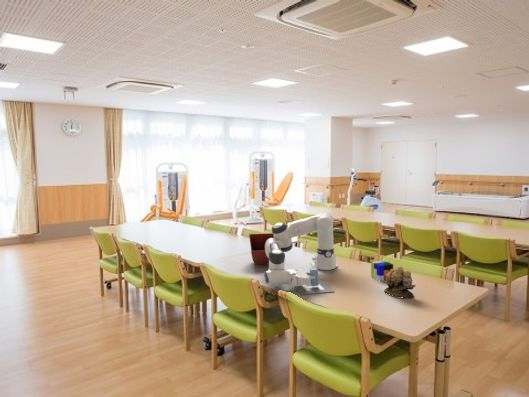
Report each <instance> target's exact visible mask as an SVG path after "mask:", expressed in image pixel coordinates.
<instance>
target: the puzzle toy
mask: <svg viewBox="0 0 529 397" xmlns="http://www.w3.org/2000/svg"><path fill="white" fill-rule="evenodd" d="M391 269H394V264H393V263H391V262H389V261H386V260H375V261H371V263H370V277H371V276H372V277H371V278H373V279H375V280H376V279H377V281H378V280H384V281H386V274H388V273H389V272H390V270H391Z"/></svg>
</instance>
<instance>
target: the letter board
mask: <svg viewBox="0 0 529 397" xmlns="http://www.w3.org/2000/svg"><path fill="white" fill-rule="evenodd" d="M318 283H319V286H312V285H311V281H310V284H306V285H297V286H293V287H294V288H295V289H296V290H297V291H298V293H299V294H300V295H301V296H309V295H318V294H319V295H320V294H331V293H332V294H333V293H335V290H333V288H332V287H330V286H329V285H328V284H327V283H326V282H325V281H324V280H320V281H319V280H318Z"/></svg>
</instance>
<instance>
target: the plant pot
mask: <svg viewBox="0 0 529 397" xmlns="http://www.w3.org/2000/svg"><path fill="white" fill-rule="evenodd" d="M248 236H249V244H250V251H251V252H250V253H251V258H252V262H253V264H254V265H269V258H268V257H267V256H266V253H265V243H266V241H267V240H268V239H269V238H274V235H273V233H272V232H269V233H249V235H248Z"/></svg>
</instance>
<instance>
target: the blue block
mask: <svg viewBox="0 0 529 397" xmlns="http://www.w3.org/2000/svg"><path fill="white" fill-rule="evenodd" d="M318 270H319V269H317V268H313V267H310V268H309V272H310V276H312V275H315V279H311V280H310V282H311V285H312V286H319V283H318V281H319V271H318Z"/></svg>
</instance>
